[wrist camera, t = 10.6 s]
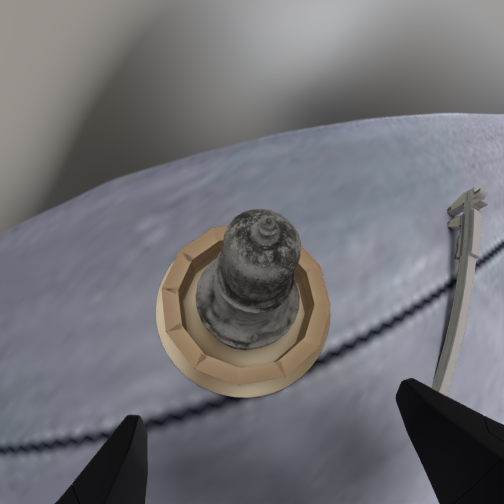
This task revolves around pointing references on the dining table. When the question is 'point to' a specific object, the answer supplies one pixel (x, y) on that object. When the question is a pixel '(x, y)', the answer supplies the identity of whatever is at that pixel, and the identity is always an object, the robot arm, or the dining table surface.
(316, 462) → the dining table surface
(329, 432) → the dining table surface
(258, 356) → the dish
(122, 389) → the dining table surface
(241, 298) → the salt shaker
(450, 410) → the robot arm
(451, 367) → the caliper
